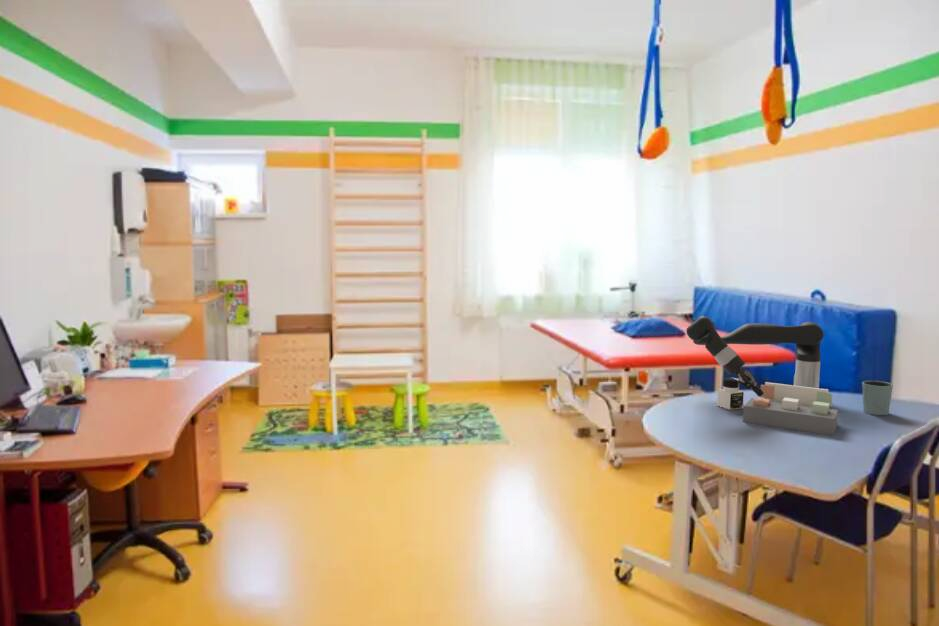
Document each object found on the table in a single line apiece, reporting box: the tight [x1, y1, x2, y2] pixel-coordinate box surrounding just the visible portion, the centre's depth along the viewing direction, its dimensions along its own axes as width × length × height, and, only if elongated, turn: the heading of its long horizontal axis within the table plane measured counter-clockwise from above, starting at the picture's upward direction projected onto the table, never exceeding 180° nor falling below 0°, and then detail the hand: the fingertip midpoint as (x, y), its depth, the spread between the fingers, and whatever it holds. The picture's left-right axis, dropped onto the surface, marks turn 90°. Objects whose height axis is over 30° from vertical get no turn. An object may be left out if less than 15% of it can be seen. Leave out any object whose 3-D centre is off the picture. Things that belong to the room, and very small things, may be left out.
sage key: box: [812, 401, 830, 415], centre depth 237 cm, size 5×5×4 cm
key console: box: [742, 381, 839, 436], centre depth 244 cm, size 30×19×12 cm, turn 55°
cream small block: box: [782, 398, 799, 411], centre depth 242 cm, size 5×5×4 cm
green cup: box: [861, 380, 893, 416], centre depth 256 cm, size 10×10×12 cm
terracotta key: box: [753, 397, 770, 407], centre depth 248 cm, size 5×5×4 cm
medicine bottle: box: [716, 377, 745, 411], centre depth 265 cm, size 7×7×12 cm
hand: (761, 395), depth 248 cm, fingers closed
